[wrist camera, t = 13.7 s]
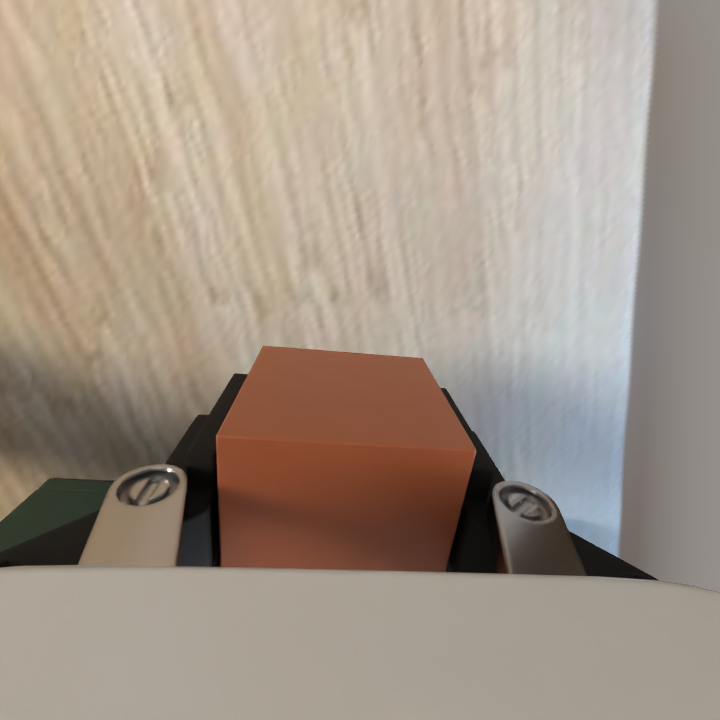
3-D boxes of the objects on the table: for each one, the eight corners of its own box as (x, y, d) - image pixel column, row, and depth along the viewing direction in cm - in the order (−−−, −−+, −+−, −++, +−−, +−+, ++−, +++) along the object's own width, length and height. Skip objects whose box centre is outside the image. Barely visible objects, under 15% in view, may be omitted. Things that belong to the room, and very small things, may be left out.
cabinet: (359, 493, 19) (376, 737, 10) (339, 651, 23) (338, 929, 14) (49, 477, 18) (-247, 738, 9) (83, 647, 22) (-98, 948, 13)
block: (263, 345, 11) (214, 435, 6) (423, 357, 11) (477, 449, 7) (260, 478, 12) (221, 621, 8) (400, 485, 13) (433, 623, 9)
